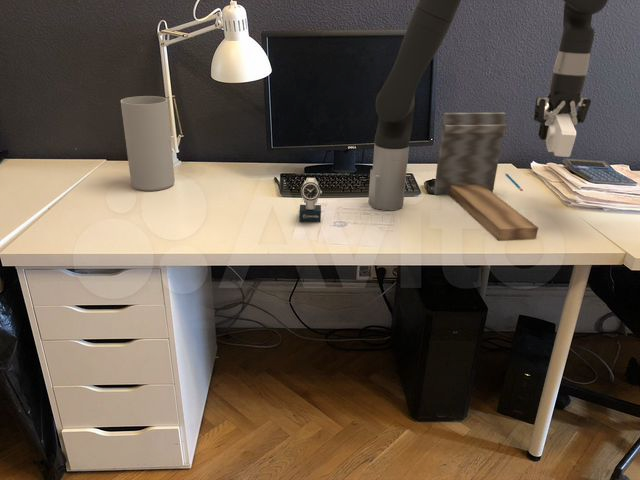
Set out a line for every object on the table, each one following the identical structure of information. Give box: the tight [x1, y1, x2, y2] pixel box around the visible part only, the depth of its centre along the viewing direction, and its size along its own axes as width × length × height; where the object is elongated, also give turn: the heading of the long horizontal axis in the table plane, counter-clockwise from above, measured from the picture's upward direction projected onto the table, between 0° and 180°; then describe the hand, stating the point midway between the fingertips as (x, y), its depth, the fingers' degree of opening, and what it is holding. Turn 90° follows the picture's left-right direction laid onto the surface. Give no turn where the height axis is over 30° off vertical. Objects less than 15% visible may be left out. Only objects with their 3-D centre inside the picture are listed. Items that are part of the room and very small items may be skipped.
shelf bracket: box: [544, 103, 577, 158], centre depth 139 cm, size 6×25×13 cm, turn 169°
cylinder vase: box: [120, 95, 176, 192], centre depth 156 cm, size 12×12×25 cm
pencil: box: [504, 172, 524, 192], centre depth 173 cm, size 1×17×1 cm, turn 0°
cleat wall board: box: [433, 111, 539, 241], centre depth 142 cm, size 18×34×24 cm, turn 10°
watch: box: [298, 177, 323, 223], centre depth 138 cm, size 6×8×11 cm
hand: (554, 138), depth 138 cm, fingers closed on shelf bracket, 6 cm apart
